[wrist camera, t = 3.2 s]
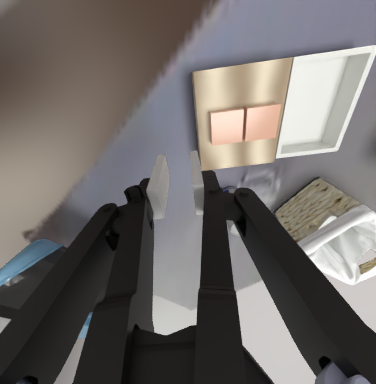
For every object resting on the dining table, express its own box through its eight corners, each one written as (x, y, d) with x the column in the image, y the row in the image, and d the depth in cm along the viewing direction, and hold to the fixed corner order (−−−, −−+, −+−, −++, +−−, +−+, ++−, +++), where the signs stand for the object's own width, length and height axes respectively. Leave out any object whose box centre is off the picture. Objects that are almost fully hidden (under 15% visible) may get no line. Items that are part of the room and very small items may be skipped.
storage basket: (364, 211, 49) (425, 256, 37) (314, 242, 56) (350, 288, 44) (318, 170, 41) (375, 210, 29) (266, 212, 48) (294, 258, 36)
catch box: (266, 150, 37) (275, 158, 34) (279, 59, 28) (294, 57, 25) (321, 143, 37) (337, 150, 33) (353, 48, 28) (379, 44, 24)
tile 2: (210, 141, 30) (212, 145, 28) (209, 111, 27) (210, 113, 26) (238, 138, 30) (242, 141, 28) (240, 107, 27) (244, 109, 25)
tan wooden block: (199, 158, 38) (201, 170, 33) (191, 72, 29) (193, 71, 24) (261, 150, 38) (273, 162, 33) (273, 60, 29) (292, 57, 24)
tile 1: (241, 138, 30) (245, 141, 28) (243, 106, 27) (247, 108, 25) (270, 134, 30) (275, 137, 28) (275, 102, 27) (281, 104, 25)
